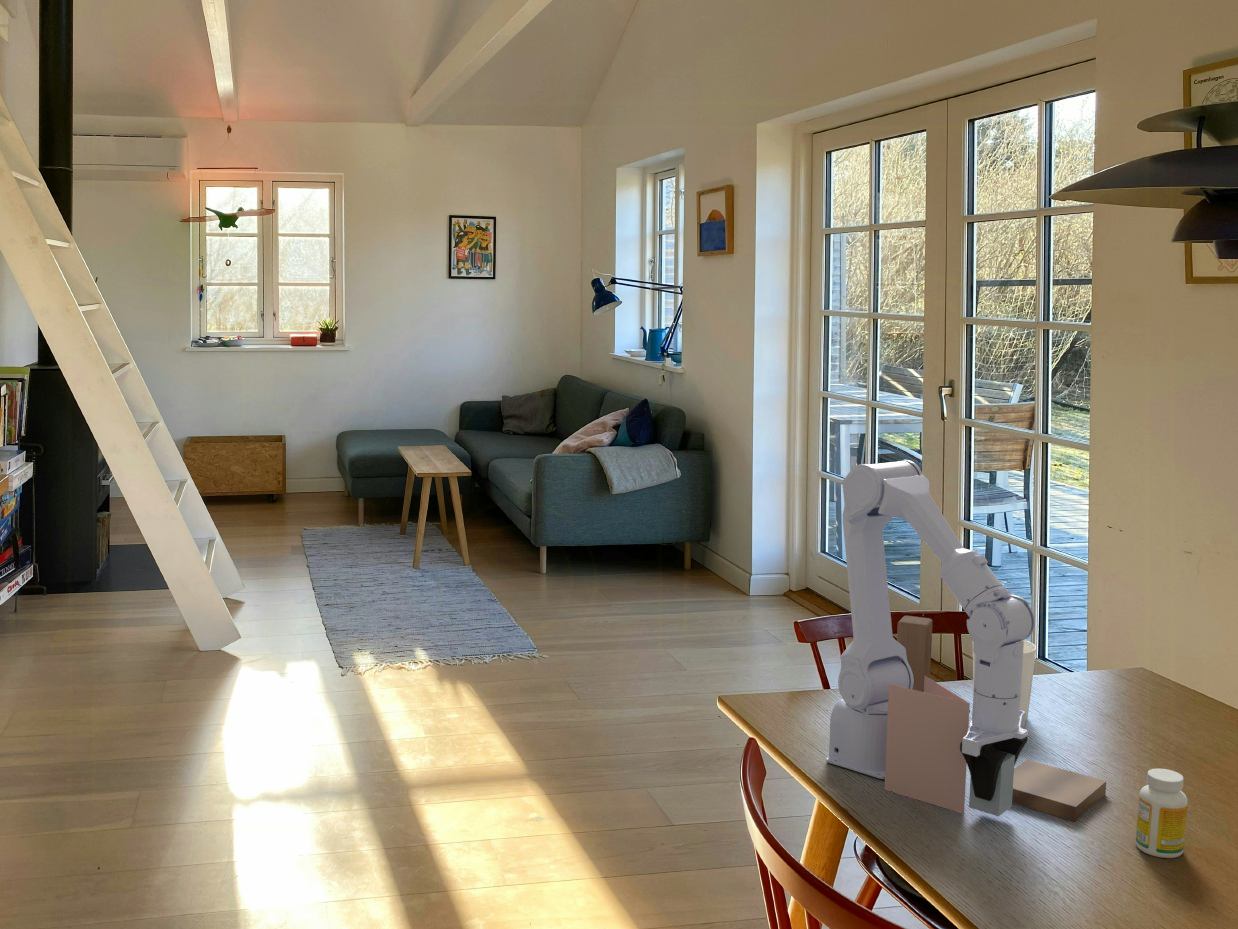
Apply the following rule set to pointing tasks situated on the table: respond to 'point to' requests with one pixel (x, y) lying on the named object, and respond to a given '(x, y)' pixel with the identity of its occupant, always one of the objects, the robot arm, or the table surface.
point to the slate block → (997, 790)
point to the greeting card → (927, 745)
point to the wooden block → (916, 646)
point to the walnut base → (1055, 790)
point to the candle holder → (1023, 674)
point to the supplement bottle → (1162, 814)
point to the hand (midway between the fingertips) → (991, 792)
